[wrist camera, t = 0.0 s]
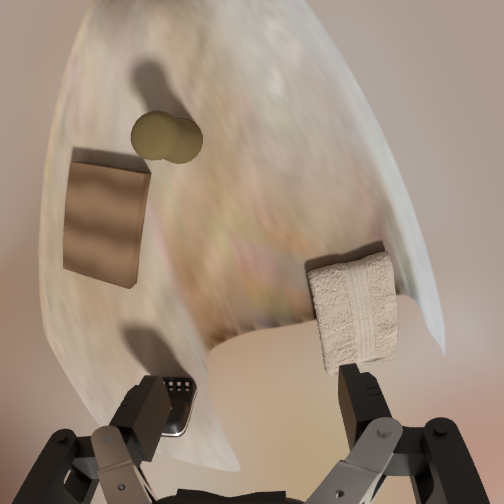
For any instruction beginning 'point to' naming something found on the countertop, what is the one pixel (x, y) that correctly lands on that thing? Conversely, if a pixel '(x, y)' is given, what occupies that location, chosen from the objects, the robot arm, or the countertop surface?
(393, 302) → the washcloth
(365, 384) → the robot arm
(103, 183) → the walnut board
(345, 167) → the countertop surface
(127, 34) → the countertop surface
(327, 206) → the countertop surface
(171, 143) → the cork
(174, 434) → the battery charger
